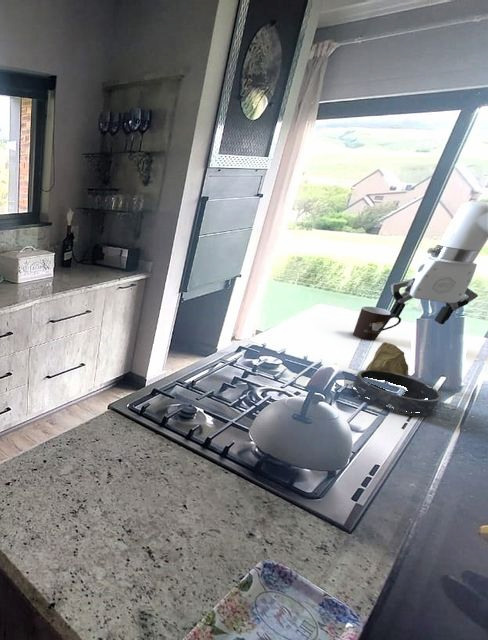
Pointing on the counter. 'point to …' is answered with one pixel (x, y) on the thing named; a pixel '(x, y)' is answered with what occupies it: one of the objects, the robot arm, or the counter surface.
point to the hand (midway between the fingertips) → (415, 319)
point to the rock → (389, 360)
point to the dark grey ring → (401, 404)
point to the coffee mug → (372, 322)
